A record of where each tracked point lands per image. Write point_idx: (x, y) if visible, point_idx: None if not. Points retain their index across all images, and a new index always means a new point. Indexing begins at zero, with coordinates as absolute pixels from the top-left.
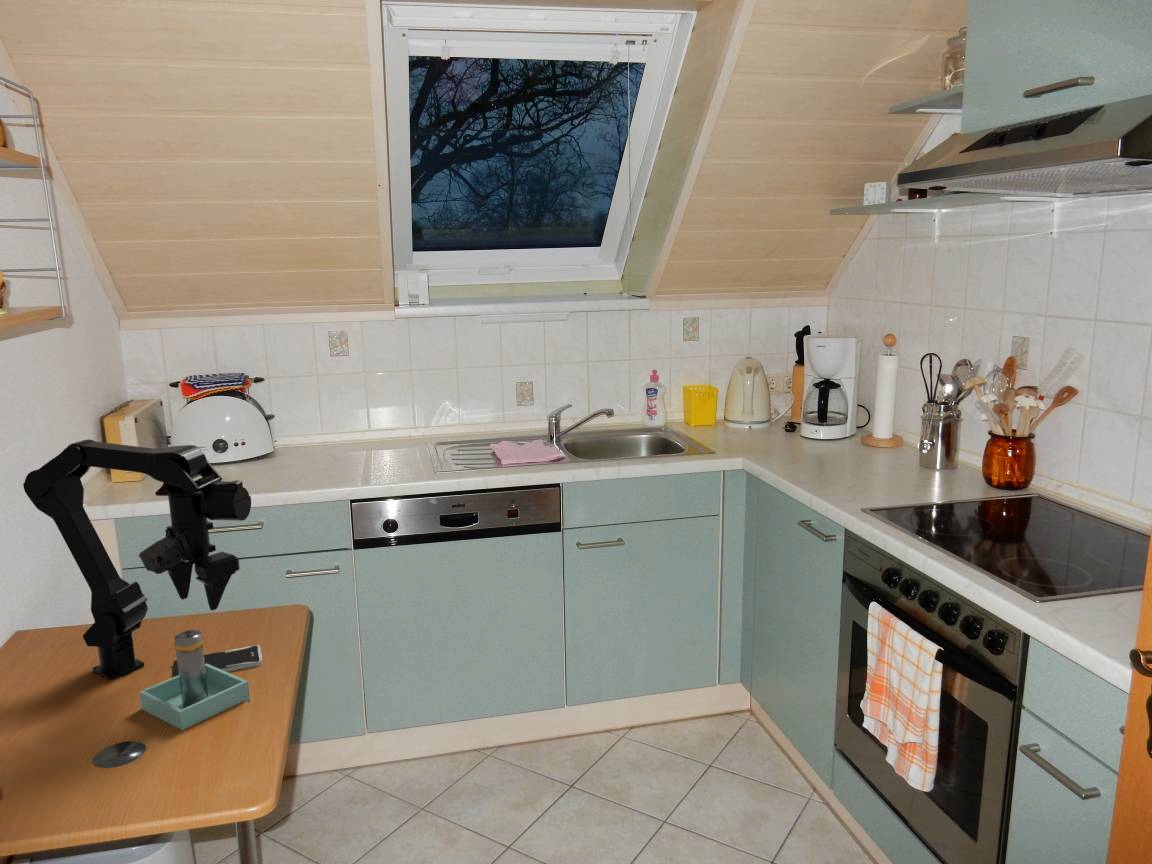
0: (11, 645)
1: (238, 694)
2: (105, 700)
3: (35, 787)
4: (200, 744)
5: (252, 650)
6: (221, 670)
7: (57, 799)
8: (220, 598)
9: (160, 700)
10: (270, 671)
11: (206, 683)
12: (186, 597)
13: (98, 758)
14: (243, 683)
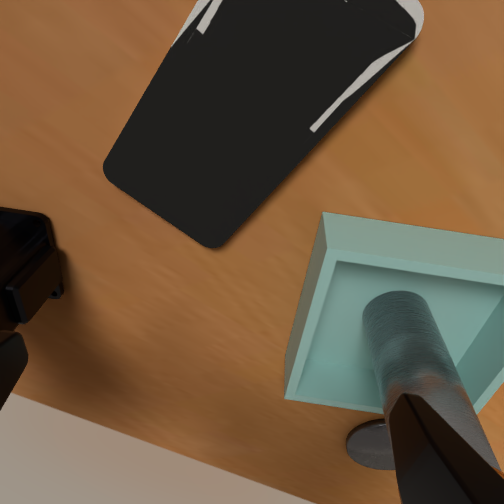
0: None
1: None
2: (162, 347)
3: (328, 491)
4: None
5: None
6: (422, 264)
7: (383, 498)
8: (485, 468)
9: (373, 409)
10: (498, 51)
11: (445, 344)
12: (18, 341)
13: (363, 459)
14: None
